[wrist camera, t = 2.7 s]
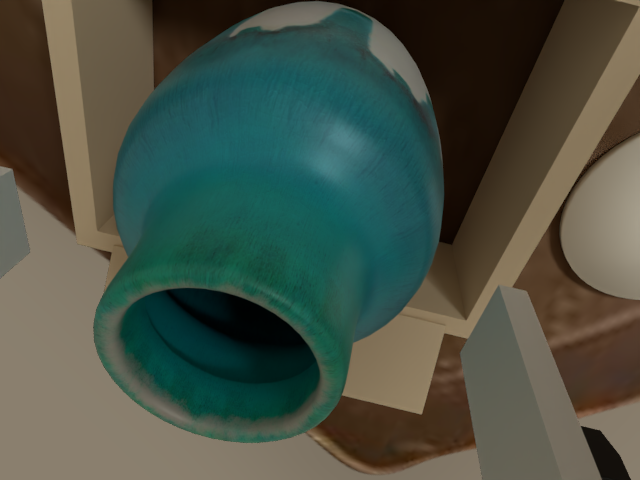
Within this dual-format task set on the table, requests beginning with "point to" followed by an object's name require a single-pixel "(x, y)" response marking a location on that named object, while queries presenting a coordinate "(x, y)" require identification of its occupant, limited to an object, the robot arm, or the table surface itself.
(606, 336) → the table surface
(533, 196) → the carton
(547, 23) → the table surface
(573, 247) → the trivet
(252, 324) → the vase
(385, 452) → the table surface
